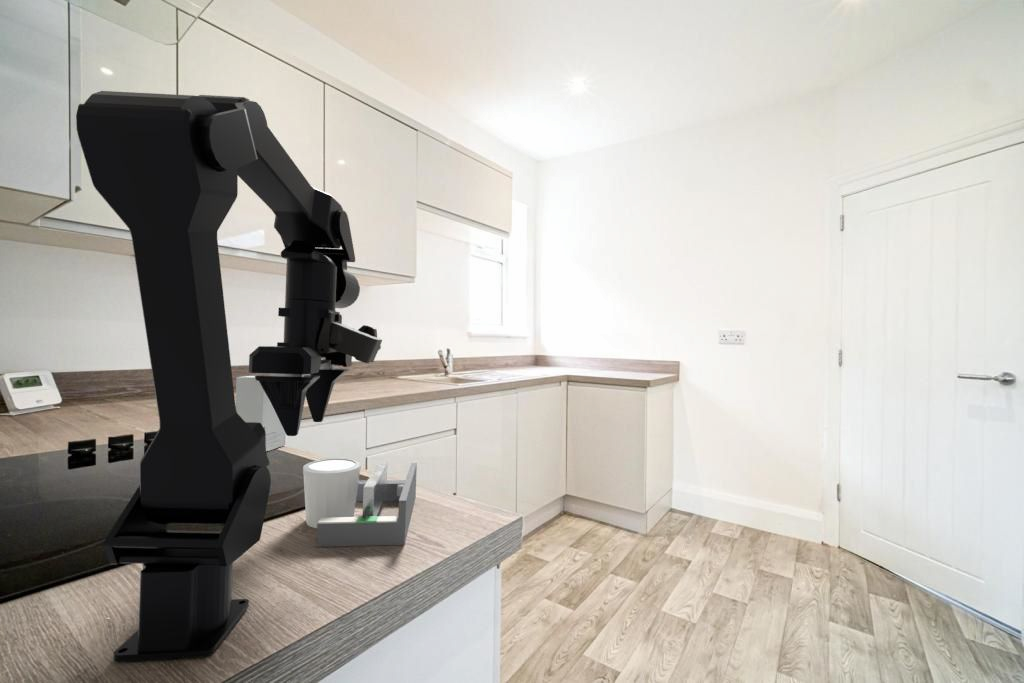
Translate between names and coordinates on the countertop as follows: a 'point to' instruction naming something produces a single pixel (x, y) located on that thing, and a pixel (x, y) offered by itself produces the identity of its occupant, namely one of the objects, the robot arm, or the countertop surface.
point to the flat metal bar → (375, 490)
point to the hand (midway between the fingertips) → (306, 428)
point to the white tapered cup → (330, 489)
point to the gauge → (373, 519)
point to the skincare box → (259, 410)
